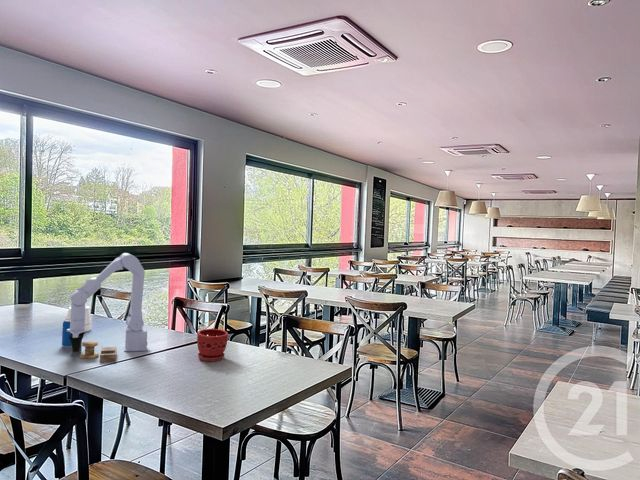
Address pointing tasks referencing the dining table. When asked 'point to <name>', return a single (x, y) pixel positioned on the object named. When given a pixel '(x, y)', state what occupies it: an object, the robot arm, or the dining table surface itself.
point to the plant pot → (211, 344)
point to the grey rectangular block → (77, 352)
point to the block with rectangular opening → (108, 354)
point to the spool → (89, 350)
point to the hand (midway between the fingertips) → (76, 350)
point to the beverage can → (66, 334)
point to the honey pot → (87, 318)
